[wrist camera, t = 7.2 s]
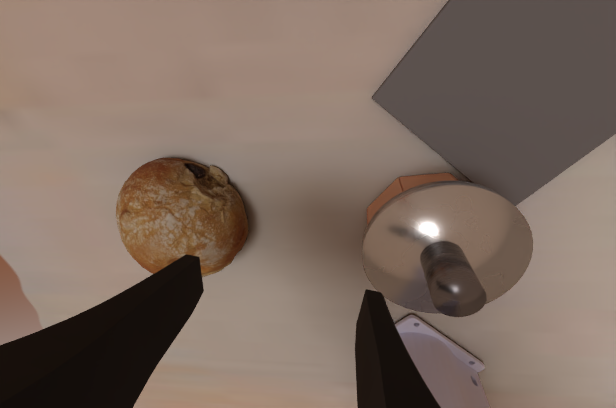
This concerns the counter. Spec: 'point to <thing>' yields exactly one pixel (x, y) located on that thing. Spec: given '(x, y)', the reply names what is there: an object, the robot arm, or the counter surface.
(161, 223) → the bread roll
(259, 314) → the counter surface
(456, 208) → the lid
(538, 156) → the plate
